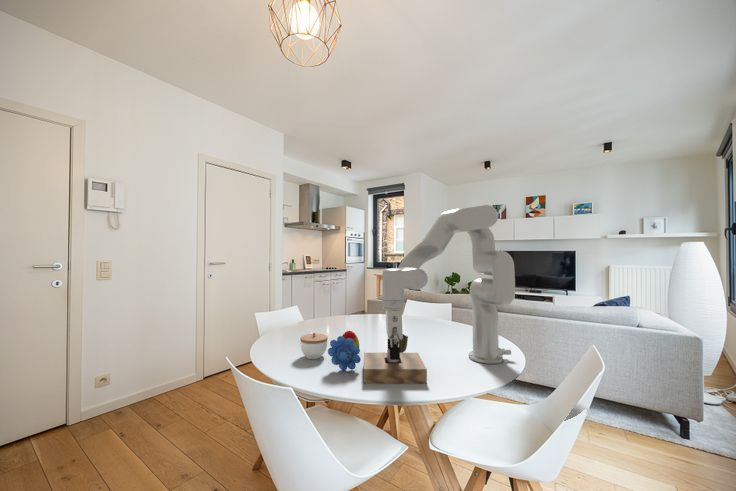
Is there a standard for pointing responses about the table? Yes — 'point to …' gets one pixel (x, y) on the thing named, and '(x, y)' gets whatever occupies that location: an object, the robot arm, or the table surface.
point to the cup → (403, 343)
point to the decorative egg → (351, 337)
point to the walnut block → (394, 369)
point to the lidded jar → (313, 345)
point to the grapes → (344, 353)
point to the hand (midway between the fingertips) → (393, 354)
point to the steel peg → (390, 359)
